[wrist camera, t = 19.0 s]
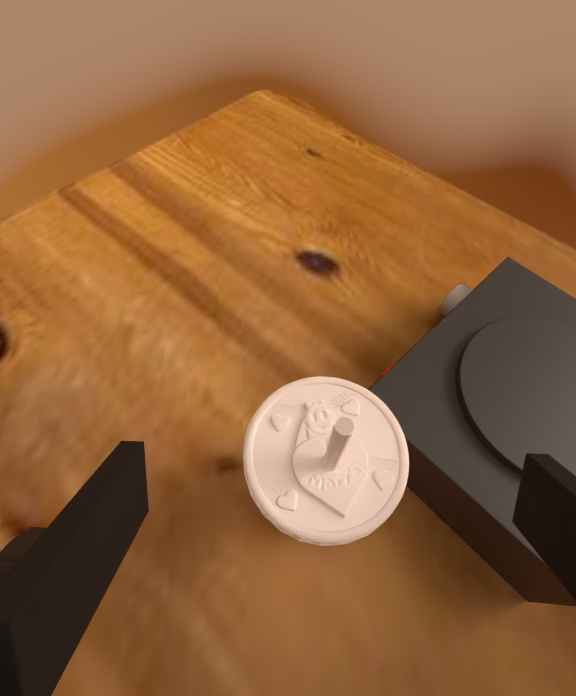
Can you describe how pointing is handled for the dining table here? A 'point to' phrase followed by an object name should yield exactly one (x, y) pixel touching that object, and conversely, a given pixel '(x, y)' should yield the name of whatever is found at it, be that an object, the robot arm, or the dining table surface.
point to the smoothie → (325, 460)
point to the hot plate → (490, 412)
